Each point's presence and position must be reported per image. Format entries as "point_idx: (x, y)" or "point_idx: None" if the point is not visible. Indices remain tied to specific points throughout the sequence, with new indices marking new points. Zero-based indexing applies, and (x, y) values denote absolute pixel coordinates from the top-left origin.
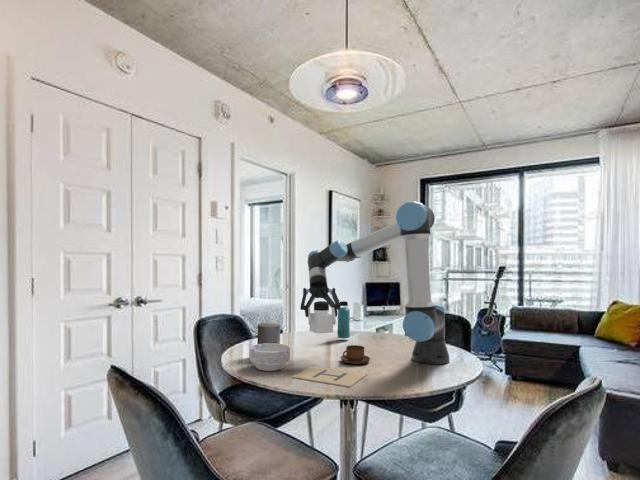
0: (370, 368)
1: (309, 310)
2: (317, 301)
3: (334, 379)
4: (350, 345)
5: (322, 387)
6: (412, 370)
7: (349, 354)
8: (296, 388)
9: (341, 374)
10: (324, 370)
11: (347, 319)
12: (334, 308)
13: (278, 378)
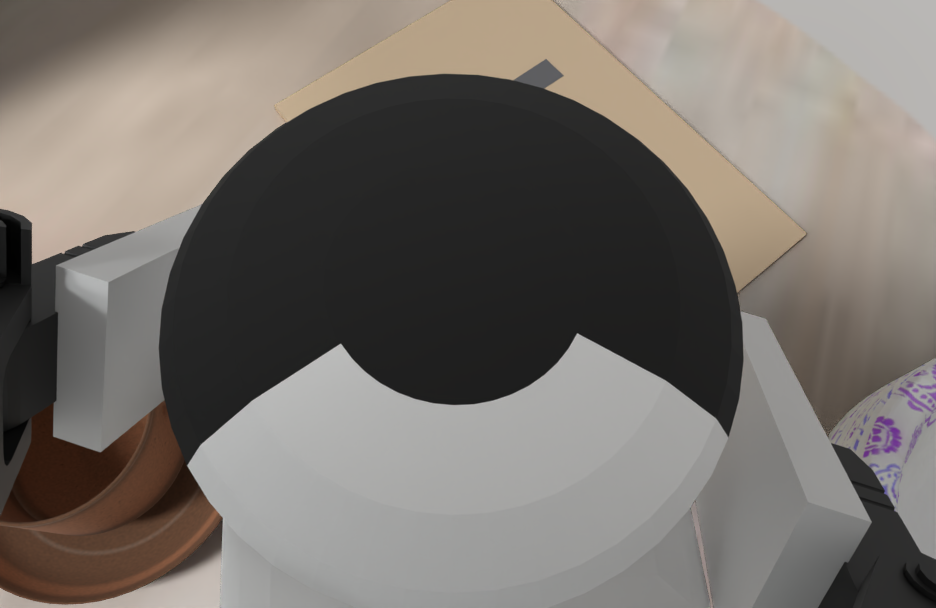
0: (141, 229)
1: (804, 446)
2: (591, 399)
3: (547, 82)
4: (28, 522)
5: (662, 21)
6: None
7: None
8: (813, 56)
9: None
10: None
11: None
12: (44, 307)
13: (900, 260)
